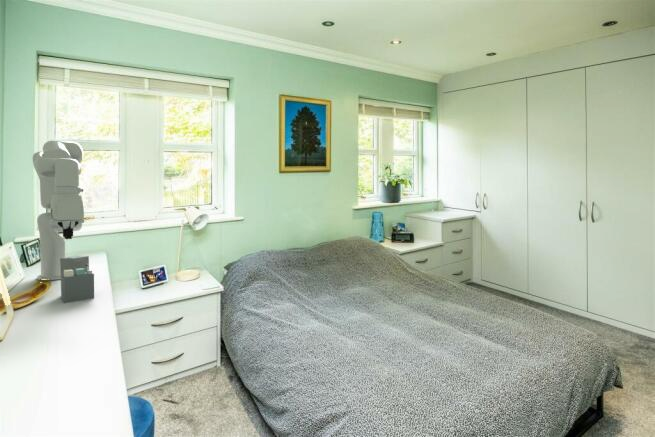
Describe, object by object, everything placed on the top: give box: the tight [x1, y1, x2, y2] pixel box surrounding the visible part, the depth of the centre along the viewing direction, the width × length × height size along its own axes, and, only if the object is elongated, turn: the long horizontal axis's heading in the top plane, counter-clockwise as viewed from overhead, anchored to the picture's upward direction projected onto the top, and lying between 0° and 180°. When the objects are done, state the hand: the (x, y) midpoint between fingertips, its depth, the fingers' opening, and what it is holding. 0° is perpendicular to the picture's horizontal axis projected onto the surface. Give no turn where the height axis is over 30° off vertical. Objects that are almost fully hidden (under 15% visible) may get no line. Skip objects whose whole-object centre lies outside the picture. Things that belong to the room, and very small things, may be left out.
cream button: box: [64, 269, 74, 277], centre depth 144 cm, size 3×3×3 cm
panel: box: [60, 272, 95, 304], centre depth 147 cm, size 4×10×10 cm, turn 139°
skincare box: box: [60, 255, 90, 275], centre depth 153 cm, size 8×7×16 cm
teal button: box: [75, 268, 85, 276], centre depth 147 cm, size 3×3×3 cm
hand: (68, 238), depth 142 cm, fingers closed
